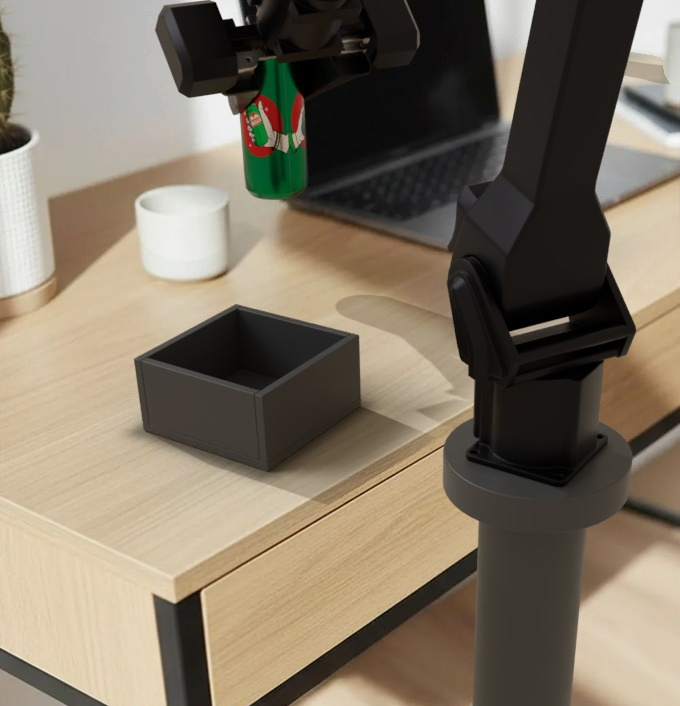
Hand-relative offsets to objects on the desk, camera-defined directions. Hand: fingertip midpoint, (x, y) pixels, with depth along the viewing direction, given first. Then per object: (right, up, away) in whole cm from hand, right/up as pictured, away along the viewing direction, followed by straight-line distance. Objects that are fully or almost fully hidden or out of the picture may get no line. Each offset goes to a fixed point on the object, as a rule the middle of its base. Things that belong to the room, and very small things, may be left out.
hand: (263, 104), depth 94 cm
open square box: (0, -26, -15) cm, 30 cm away
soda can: (+1, -6, +2) cm, 7 cm away
